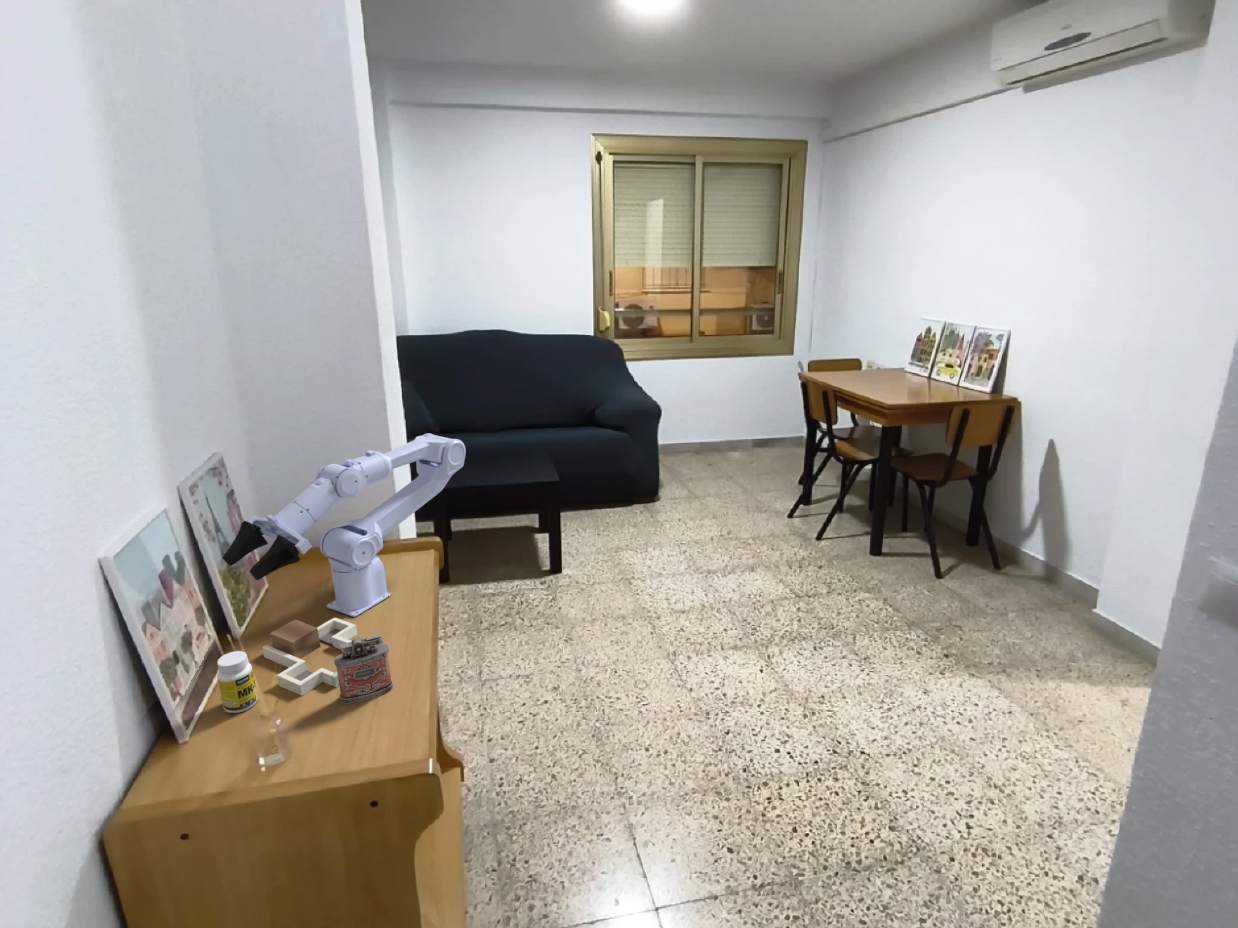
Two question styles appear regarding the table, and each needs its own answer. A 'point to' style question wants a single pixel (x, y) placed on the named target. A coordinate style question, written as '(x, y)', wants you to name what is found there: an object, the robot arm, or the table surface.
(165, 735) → the table surface
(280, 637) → the block
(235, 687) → the supplement bottle
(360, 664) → the lighter
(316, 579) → the table surface
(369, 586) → the robot arm
